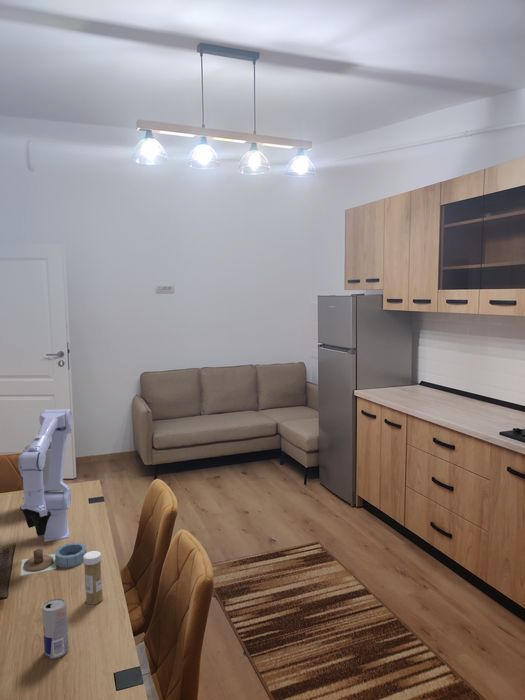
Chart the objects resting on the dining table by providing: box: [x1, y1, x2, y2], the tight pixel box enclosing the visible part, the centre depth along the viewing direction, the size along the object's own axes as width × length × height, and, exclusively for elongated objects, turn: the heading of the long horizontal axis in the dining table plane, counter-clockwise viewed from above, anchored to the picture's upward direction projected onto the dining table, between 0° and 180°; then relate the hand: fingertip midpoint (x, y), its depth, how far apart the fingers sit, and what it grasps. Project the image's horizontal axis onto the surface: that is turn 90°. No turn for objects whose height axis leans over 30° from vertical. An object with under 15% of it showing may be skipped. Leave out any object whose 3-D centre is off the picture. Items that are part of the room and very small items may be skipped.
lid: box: [24, 548, 53, 572], centre depth 163 cm, size 8×8×4 cm
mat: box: [20, 553, 57, 577], centre depth 164 cm, size 10×10×1 cm
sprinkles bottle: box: [83, 550, 104, 605], centre depth 144 cm, size 5×5×14 cm
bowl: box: [54, 542, 88, 569], centre depth 166 cm, size 9×9×4 cm
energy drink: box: [41, 598, 70, 660], centre depth 124 cm, size 5×5×12 cm
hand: (36, 530), depth 165 cm, fingers open, 7 cm apart
